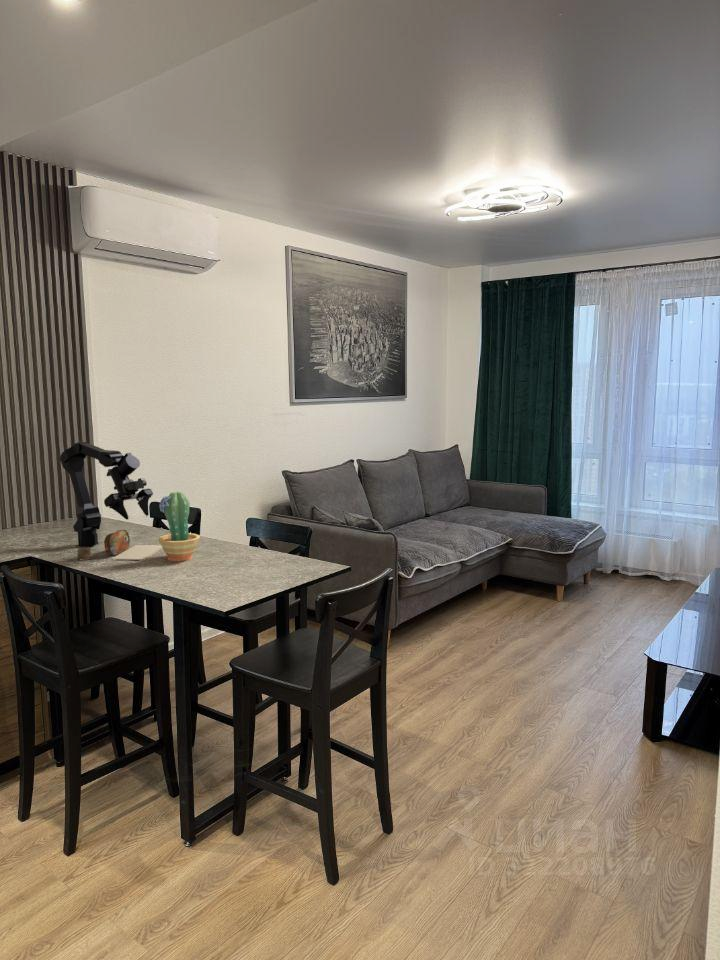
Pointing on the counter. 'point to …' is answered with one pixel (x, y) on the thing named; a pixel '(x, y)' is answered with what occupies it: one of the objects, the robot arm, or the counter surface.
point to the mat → (138, 552)
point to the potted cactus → (177, 528)
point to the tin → (116, 542)
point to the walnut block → (84, 553)
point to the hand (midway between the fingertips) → (137, 517)
